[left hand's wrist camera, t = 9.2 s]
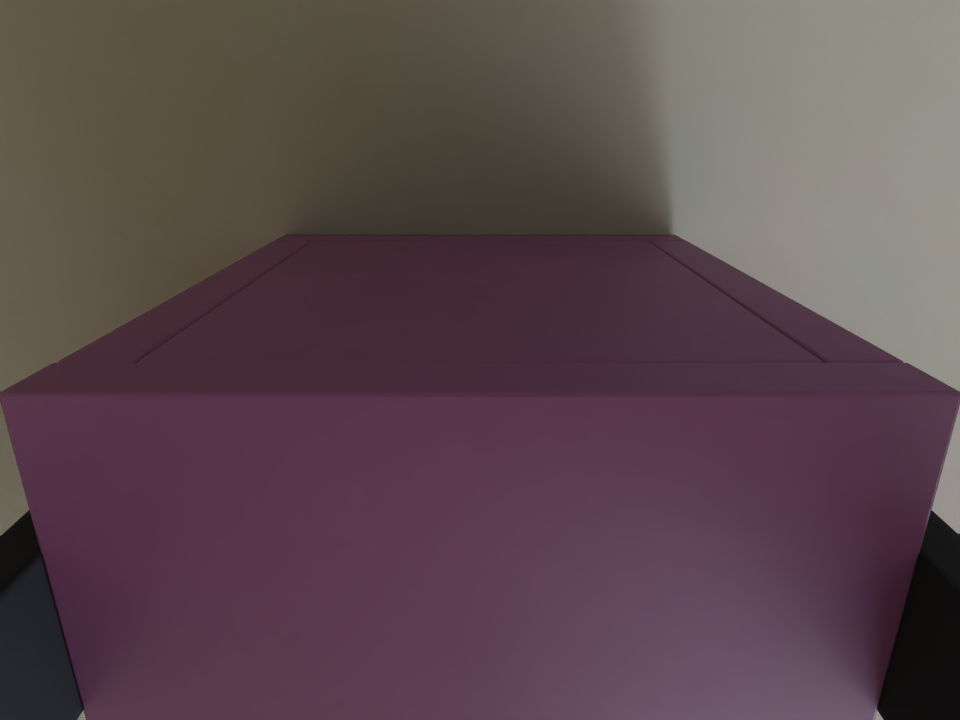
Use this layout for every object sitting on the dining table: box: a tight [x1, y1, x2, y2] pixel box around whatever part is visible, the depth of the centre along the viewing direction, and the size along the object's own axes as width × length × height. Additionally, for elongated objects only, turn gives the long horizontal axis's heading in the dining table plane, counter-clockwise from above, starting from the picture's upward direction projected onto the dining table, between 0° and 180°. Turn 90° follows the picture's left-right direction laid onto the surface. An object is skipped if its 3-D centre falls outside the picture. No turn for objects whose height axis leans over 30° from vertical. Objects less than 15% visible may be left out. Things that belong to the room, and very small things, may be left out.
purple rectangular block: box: [0, 235, 960, 720], centre depth 17 cm, size 21×12×12 cm, turn 0°
